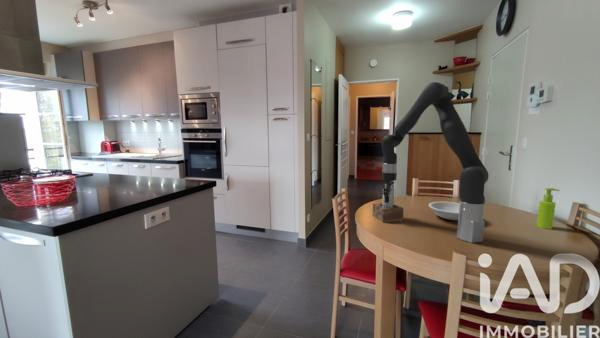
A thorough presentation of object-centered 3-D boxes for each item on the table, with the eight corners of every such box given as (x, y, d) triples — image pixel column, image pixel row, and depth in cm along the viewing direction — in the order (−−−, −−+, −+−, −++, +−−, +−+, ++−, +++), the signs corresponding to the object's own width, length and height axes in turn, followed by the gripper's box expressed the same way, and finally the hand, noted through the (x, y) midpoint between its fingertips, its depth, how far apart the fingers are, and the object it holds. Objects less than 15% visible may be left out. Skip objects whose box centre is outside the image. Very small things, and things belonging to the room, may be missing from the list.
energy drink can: (394, 214, 146) (396, 187, 143) (383, 214, 146) (384, 187, 144) (391, 211, 151) (392, 185, 149) (380, 211, 152) (381, 185, 150)
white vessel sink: (463, 212, 159) (464, 201, 158) (487, 226, 136) (488, 214, 135) (421, 211, 162) (422, 200, 161) (437, 225, 138) (438, 212, 137)
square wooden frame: (403, 220, 145) (403, 208, 144) (382, 222, 142) (383, 209, 141) (391, 214, 156) (391, 202, 155) (372, 215, 154) (372, 203, 153)
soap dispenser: (557, 229, 131) (563, 190, 128) (541, 228, 132) (546, 189, 130) (549, 225, 137) (554, 187, 134) (533, 224, 138) (538, 187, 135)
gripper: (393, 173, 137) (391, 205, 140) (399, 170, 149) (398, 199, 152) (378, 172, 141) (377, 203, 144) (386, 169, 153) (385, 197, 156)
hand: (388, 201), depth 148 cm, fingers closed on energy drink can, 6 cm apart
